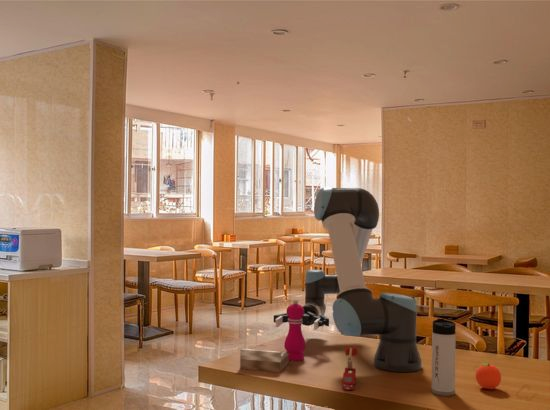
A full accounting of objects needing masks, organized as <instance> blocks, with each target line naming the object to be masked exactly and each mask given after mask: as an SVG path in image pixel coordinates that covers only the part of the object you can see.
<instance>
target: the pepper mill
mask: <svg viewBox="0 0 550 410" xmlns="http://www.w3.org/2000/svg"><path fill="white" fill-rule="evenodd" d="M286 313H287V315H288V317H289V318H288V322H287V323H288V332H287V336H286V337H285V340H284V345H283V346H284V349H285V351H287V354H289V361H293V362H296V361H297V362H299V361H303V360H305V353H304V351H305V349H306V347H307V346H306V340H305V338H304V335H303V330H302V324H301V323H303V322H302V320H303V319H302V316H303V315H304V308H303V306H302V305H301V304H300V303H299V301H298V299H295V298H294V299H293V300H292V303H291V304H289V305H288V306H287V308H286Z"/></svg>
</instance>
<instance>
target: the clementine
mask: <svg viewBox="0 0 550 410" xmlns="http://www.w3.org/2000/svg"><path fill="white" fill-rule="evenodd" d="M479 365H480V366H479ZM478 366H479V367H478ZM476 367H478V368H477V369H476V372H475V381H476V383H478V385H479V386H480V387H482V388H483V389H486V390H493V389H495V388H498V386H499V385H500V384H501V381H502V373H501V372H500V370H499V369H498V367H496V366H495V365H493V364H490V363H480V364H476V365H475V366H474V367H473V369H475V368H476Z"/></svg>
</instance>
